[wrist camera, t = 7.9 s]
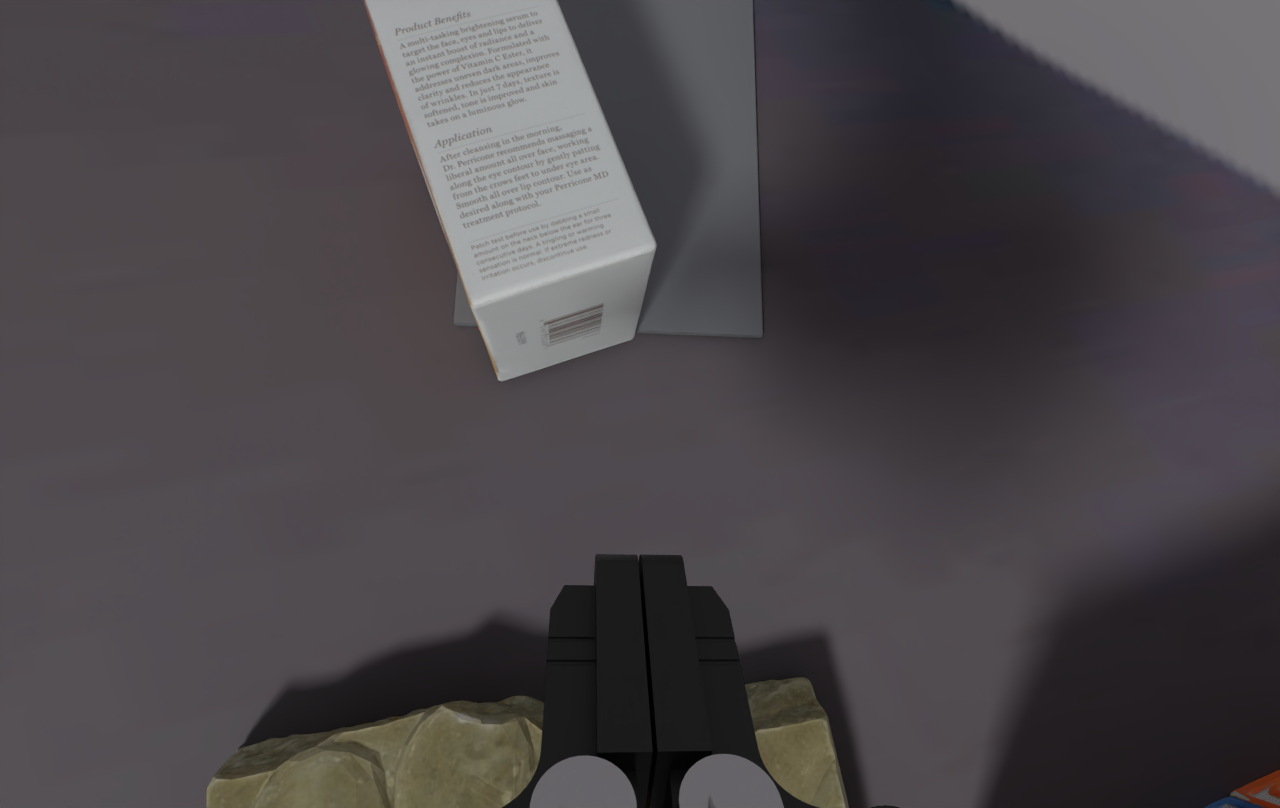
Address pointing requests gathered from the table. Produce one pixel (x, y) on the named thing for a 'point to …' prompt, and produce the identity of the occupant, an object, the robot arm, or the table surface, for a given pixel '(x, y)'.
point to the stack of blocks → (1254, 794)
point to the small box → (519, 174)
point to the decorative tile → (490, 756)
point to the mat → (681, 152)
